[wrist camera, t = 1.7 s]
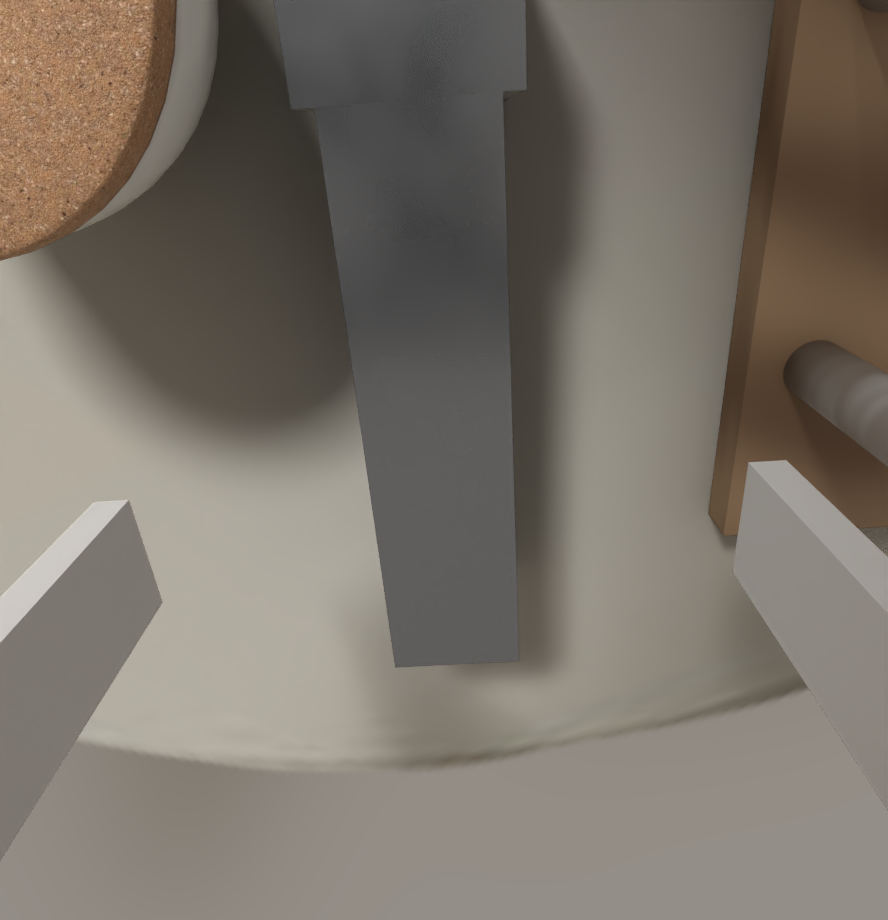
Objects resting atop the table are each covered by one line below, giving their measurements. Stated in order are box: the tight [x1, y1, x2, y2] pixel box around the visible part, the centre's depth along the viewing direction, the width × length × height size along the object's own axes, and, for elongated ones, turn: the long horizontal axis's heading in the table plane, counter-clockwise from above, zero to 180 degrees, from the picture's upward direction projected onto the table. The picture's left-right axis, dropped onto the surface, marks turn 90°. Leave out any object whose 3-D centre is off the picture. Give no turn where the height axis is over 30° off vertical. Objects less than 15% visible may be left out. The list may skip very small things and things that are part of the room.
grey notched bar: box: [274, 0, 527, 667], centre depth 19 cm, size 20×5×5 cm, turn 4°
